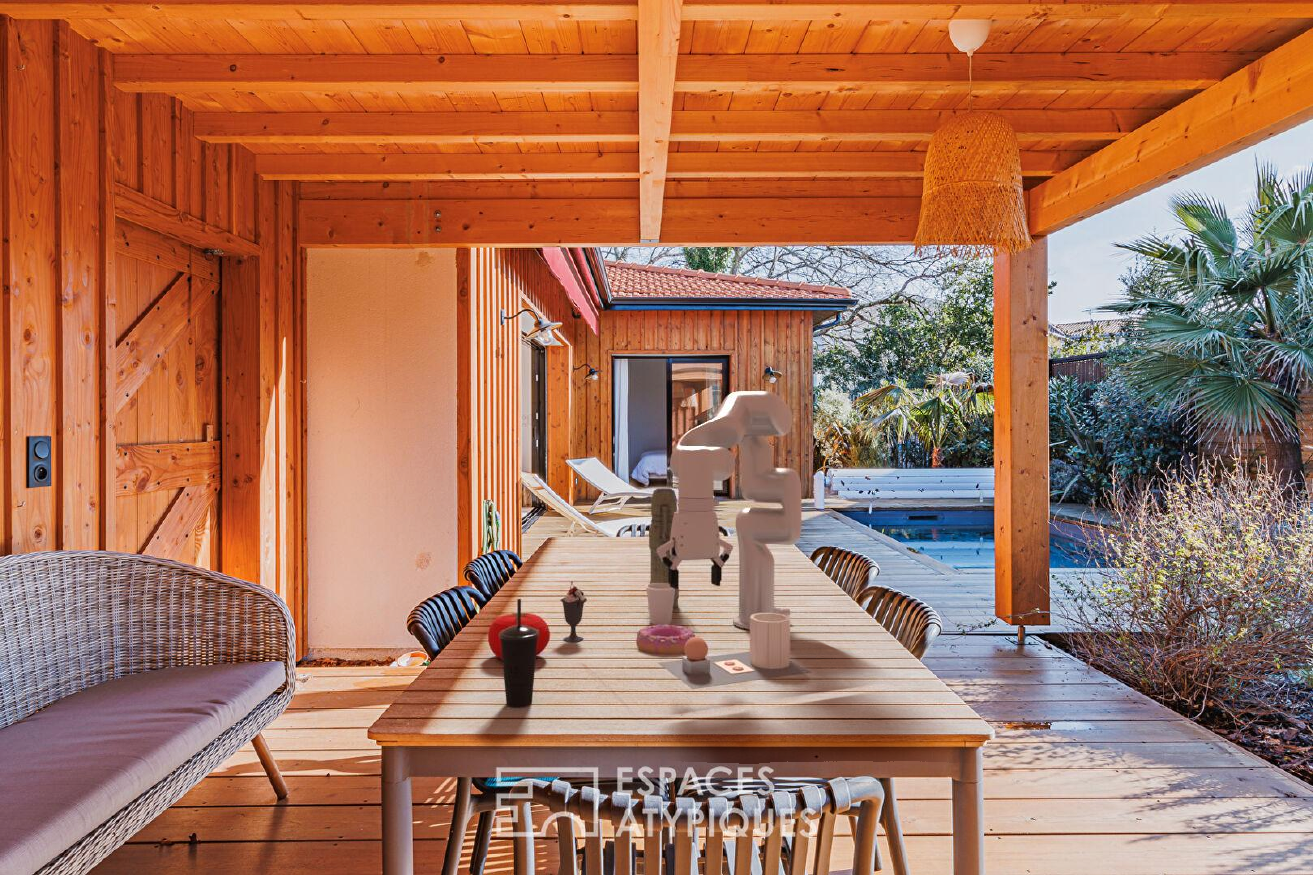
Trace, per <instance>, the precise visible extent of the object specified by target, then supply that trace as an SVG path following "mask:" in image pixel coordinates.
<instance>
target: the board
mask: <svg viewBox="0 0 1313 875" xmlns="http://www.w3.org/2000/svg"><path fill="white" fill-rule="evenodd" d="M706 658H708V659H710V674H707V675H699V676H690V675H688V674H687V673H685V672H684V671H683V670H682V659H678V660H670V661H662V662H658V665H660V666H661V667H663V668H664V669H666V670H667V671H668V673H669V672H670V673H671V674H672V675H673V676H674V677H676V678H678V679H679V680H680V681H682V682H683V683H684V684H686V686H688V687H690V688H691V689H692V690H693V689H701V688H707V687H714V686H723V685H728V684H729V685H730V684H736V683H737V684H738V683H742V682H743V683H744V682H750V681H759V680H765V679H773V678H779V677H781V678H782V677H787V676H795V675H802V674H808V673H809V674H810V673H812V671H811V670H810V669H807V668H805V667H803V666H801V665H799V664H798V663H796V662H794V661H792V660H790V665H789V666H788V667H784V668H780V669H766V668H760V667H756V666H754V665H752V664H750V651H744V652H736V653H727V654H720V655H718V654H717V655H711V656H706Z"/></svg>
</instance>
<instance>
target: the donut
mask: <svg viewBox="0 0 1313 875" xmlns="http://www.w3.org/2000/svg"><path fill="white" fill-rule="evenodd" d="M692 637H696V631H694V630H693V629H691V628H690V627H688V626H687V627H685V626H684V625H683V626H681V625H677V624H676V625H675V624H674V625H671V624H667V625H655V624H651V625H650V626H646V627H643V628H640V629H639V630H638V631H637V633H636V640H635V641H636V643H635V644H636V647H637V649H638V651H640V650H641V651H644V652H647V653H652V654H663V655H673V654H675V655H676V654H683V653H685V651H684V647H685V644H686V642H687V641H688V640H689V639H690V638H692Z"/></svg>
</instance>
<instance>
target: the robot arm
mask: <svg viewBox="0 0 1313 875" xmlns="http://www.w3.org/2000/svg"><path fill="white" fill-rule="evenodd" d="M792 426H793V414H792V411H791V409H790V407H789V405H788V404H787V403H786V402H785V401H784V399H782V397H780V396H779V395H778V394H776V393H774V392H772V391H766V390H756V391H753V390H752V391H750V390H748V391H746V390H745V391H735V392H731V393H730V394H727V396H726V397H725V398H724V399H723V401H722V403H721V404H720V406H719V408H718V409H717V411H716V413H715V414H714V416H713V418H712V419H711V420H708V421H706V422H704V423H702V424H700V425H698V426H696V427H694V428H692V429H690V430H689V431H687V432H686V433H684V434H683V435H682V436H681V437H680V438H679V440H678V442H677V443H676V445H675V447H674V448H673V451H672V452H671V455H670V456H671V457H670V462H669V464H670V471H671V473H672V475H673V476H674V477H675V478H677V480H678V481H677V482H678V484H677V485H678V486H677V487H678V489H677V490H678V495H677V496H678V497H677V498H678V499H677V512H674V516H673V521H672V527H671V536H670V541H669V542H667V543H665V544H664V545H662V546H660V547H659V548H657V553H658V555H659V557H660V558H661V561H662V562H663V563H664V564H665V565H666V567H667V568H668V582H669V584H670V587H672V588H674V589H678V588H679V585H680V584H679V579H680V576H679V575H680V573H679V572H680V571H679V570H678V566H679V565H680V564H681V563H682V561H700V560H710V561H711V562H712V565H711V566H710V569H711V570H710V576H711V577H710V583H711V585H713V586H716V587H720V586H721V581H722V580H723V579H722V576H723V575H722V572H723V571H722V570H723V569H722V568H723V567H724V566H725V564H726V562H727V561H728V560H729V559H730V555H731V554H732V551H733V550H734V546H733V545H732V544H730V543H728V542H726V541H724V540H723V539H721V537H720V529H719V521H718V515H717V512H715V511H714V510H715V507H719V506H720V501H719V500H718V499H715V497H714V488H715V486H714V482H721V481H725V480H728V479H729V478H730V477H731V476H733V473H734V471H735V469H736V459H735V457H734V454H733V453H732V451H730V450H729V449H730V448H734V447H736V446H737V445H738V446H739V450H740V481H741V482H740V484H741V485H740V489H741V495H742V497H743V499H744V500H745V501H747V502H749V503H750V502H751V503H758V504H760V503H761V504H762V503H763V504H778V505H780V506H781V507H782V508H774V507H773V508H772V507H755V506H753V507H752V506H751V507H746V508H743V509H741V510H739V512H738V513H737V514H736V517H735V529H736V530H735V531H736V538H737V542H738V543H737V544H738V545H737V546H738V616H736V617H734V618H733V619H732V624H733V625H734V626H735V625H736V626H735V627H737V626H738V627H737V628H739V627H740V629H744V628H745V630H750V617H751V615H753V614H757V613H777V614H784V615H786V616H789V617H790V615H791V610H790V608H782V609H781V607H776V606H775V558H774V556H773V554H772V551H771V550H770V549H769V547H768V546H767V545H781V546H793V545H796V544H798V543H799V541H800V539H801V536H802V524H803V523H802V522H803V521H802V520H803V519H802V518H803V517H802V483H801V477H800V475H799V473H798V472H797V471H796V470H795V469H794V468H789V467H774V462H773V461H774V460H773V458H774V455H773V454H774V452H773V451H774V450H773V447H772V445H771V443H770V442H769V440H768V439H767V437H783V436H786V435H788V433H790V431H791V429H792ZM721 548H723V551H722V553H721V554H720V552H721V551H720V550H721ZM669 549H670V555H671V556H672V557H671V559H669V558H668V557H667V555H666V551H668V550H669ZM679 589H680V588H679Z"/></svg>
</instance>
